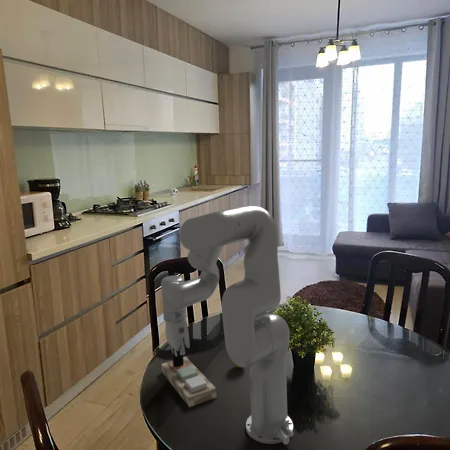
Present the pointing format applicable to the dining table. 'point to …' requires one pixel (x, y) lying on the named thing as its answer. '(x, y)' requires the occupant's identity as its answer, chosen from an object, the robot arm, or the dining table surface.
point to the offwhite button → (196, 384)
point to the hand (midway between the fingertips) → (178, 365)
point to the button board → (183, 390)
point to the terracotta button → (177, 367)
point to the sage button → (186, 373)
